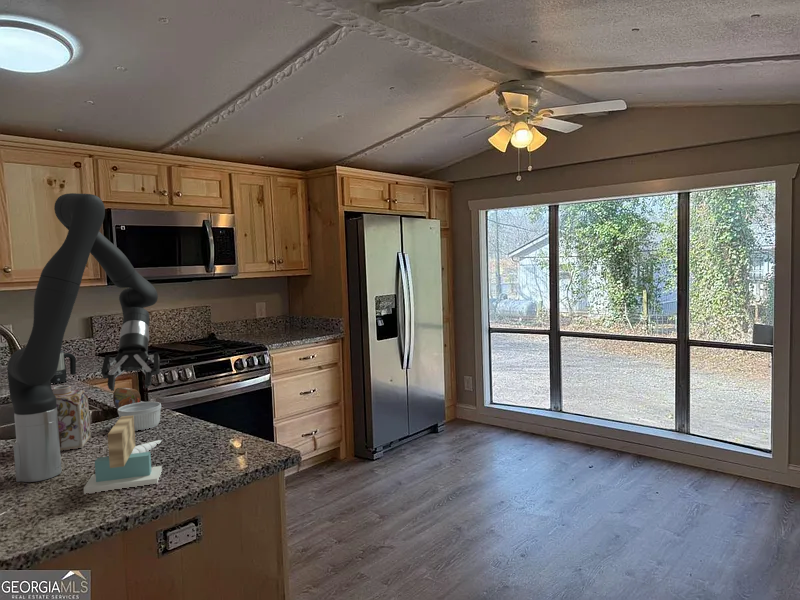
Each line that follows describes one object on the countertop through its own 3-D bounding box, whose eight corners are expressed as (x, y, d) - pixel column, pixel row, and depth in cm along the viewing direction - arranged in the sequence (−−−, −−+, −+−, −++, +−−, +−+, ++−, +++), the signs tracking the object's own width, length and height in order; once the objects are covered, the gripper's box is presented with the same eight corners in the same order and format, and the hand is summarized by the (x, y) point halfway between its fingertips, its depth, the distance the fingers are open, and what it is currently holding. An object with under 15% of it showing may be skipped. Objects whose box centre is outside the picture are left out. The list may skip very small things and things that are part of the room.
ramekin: (113, 427, 188) (112, 406, 187) (154, 418, 197) (153, 399, 196) (126, 435, 178) (124, 413, 178) (168, 426, 187) (167, 405, 186)
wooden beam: (124, 466, 131) (121, 432, 131) (109, 468, 131) (107, 434, 130) (135, 445, 147) (133, 415, 146) (123, 446, 146) (120, 416, 145)
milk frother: (52, 385, 259) (50, 353, 258) (29, 383, 265) (27, 352, 264) (80, 379, 272) (78, 349, 271) (58, 377, 278) (56, 348, 277)
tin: (113, 408, 213) (111, 386, 212) (121, 406, 215) (119, 385, 215) (135, 414, 204) (133, 391, 203) (143, 411, 207) (141, 389, 206)
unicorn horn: (173, 442, 170) (172, 426, 170) (123, 471, 147) (122, 454, 147) (158, 442, 171) (157, 426, 171) (106, 471, 148) (105, 453, 147)
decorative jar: (91, 437, 177) (87, 381, 176) (83, 448, 166) (79, 388, 165) (48, 442, 173) (44, 384, 172) (37, 454, 162) (32, 392, 161)
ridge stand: (84, 494, 132) (82, 467, 132) (93, 480, 141) (91, 454, 140) (157, 484, 137) (155, 458, 136) (161, 471, 145) (160, 446, 145)
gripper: (104, 333, 156) (96, 382, 146) (159, 330, 160) (156, 377, 150) (109, 349, 161) (102, 397, 151) (162, 346, 165) (159, 393, 155)
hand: (129, 387), depth 150 cm, fingers open, 8 cm apart
